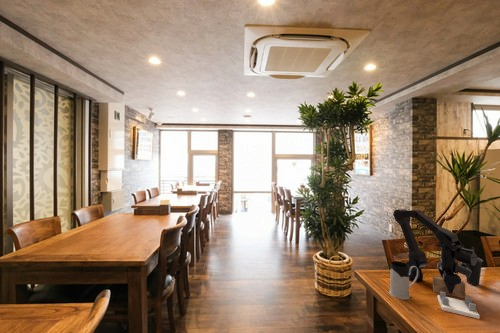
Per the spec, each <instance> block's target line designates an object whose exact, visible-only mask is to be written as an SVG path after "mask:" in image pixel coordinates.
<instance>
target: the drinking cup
mask: <svg viewBox="0 0 500 333" xmlns="http://www.w3.org/2000/svg"><path fill="white" fill-rule="evenodd" d="M471 250H474V251H475V247H474V246H471ZM483 262H484V260H483V259H481V258H480V257H478V256H477V263H476V265H474V266H473V265H469V264H466V263H464V264H466V267H468V268H469V269H470V270H471V271H472V273H471V275H470V277H466V276H465V278H466V279H465V280H466V283H467V284H468V285H471V286H476V287H477V286H480V279H481V273H482V272H481V271H482V266H483V265H482V264H483Z"/></svg>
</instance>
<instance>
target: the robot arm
mask: <svg viewBox="0 0 500 333" xmlns="http://www.w3.org/2000/svg"><path fill="white" fill-rule="evenodd" d="M392 216H393V218H394V220H395V221H396V223H398V225H399V226H400V228H401V231H402V234H403V236H404V240H405V242H406V243H405V244H406V245H407V249H408V261H406V262H405V263H406V264H408V265H409V270H410V268H411V267H412V266H416V267H417V268H418V271H419V272H418V278H417V280H416V283H423V280H424V272H423V271H422V270H423V269H424V268H425V267H426V266H427V265H428V258H427V254H426V252H422V251H421V250H420V248H419V244H418V242H417V240H416V238H415V235H414V231H413V229H412V225H411V218H414V219H415V220H416V221H417V222H419V223H420V224H421V225H422V226H424V227H425V228H426V229H428V230H429V231H430V232H432V233H433V235H434V237H435V238H436V239H437V240H438V241H439V243H437V244H435V246H436V247H438V248H440V257H439V260H440V261H438V262H437V263H436V268H437V270H438V273H439V274H440V277H442V278H443V280H444V282H445V284H446V287H447V289H448V292H449V293H451V294H452V293H453V290H454V287H455V285H457V284H461V281H462V278H461V277H460V275H459V274H461V275H463V276H465V278H466V277H470V275H471V273H472V271H471V270H470V269H469V268H468V267H466V264H469V265H473V266H474V265H476V263H477V257H478V256H477V254H476V253H475V249H474V250H472V249H470V248H469V249H468V248H465V246H464V245H463V244H462V242H461V241H460V239H459V238H458V237H459V236H458V235H457V234H456V233H455V232H453V231H452V230H449V229H447V228H445V227H443V226H440V225H439V224H438V223H436V222H435V221H434V220H432V219H431V218H430V217H429V216H427V215H426V214H424V213H423V212H422V211H421V210H420V209H412V210H409V209H408V210H407V209H405V208H402V209H395V210H394V211H393V213H392ZM458 262H460V263H458ZM465 263H466V264H465ZM416 267H413V268H412V269H411V274H410V275H409V281H412V282H413V281H414V280H415V278H416V275H417V268H416Z"/></svg>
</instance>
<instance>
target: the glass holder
mask: <svg viewBox="0 0 500 333" xmlns="http://www.w3.org/2000/svg"><path fill="white" fill-rule="evenodd" d="M413 267H416V266H412V267H411V268H410V270H409V265H408V264H406V262H404V261H403V262H402V261H397V260H392V261H391V262H390V272H389V273H390V274H389V275H390V277H389V278H390V281H389V282H390V287H389V288H390V289H389V291H388V292H389V295H391V296H392V297H393V298H396V299H399V300H407V301H408V300H409V299H411V295H410V288H411V287H412V286H413V285H414V284H415V283H417V281H416V280H417V278H418V272H419V271H418V268H417V267H416V268H417V275H416V278H415V280H414V281H412V282H411V283H410V280H409V275H410V274H411V269H412V268H413Z"/></svg>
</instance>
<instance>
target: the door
mask: <svg viewBox="0 0 500 333" xmlns="http://www.w3.org/2000/svg"><path fill="white" fill-rule="evenodd" d="M432 290H433V292H434V293H437V292H438V294H440V292H445V293H446V296H451V295H452V297H457V298H460V299H461V298H462V299H465V297H466V283H465V282H464V281H462V280H461V284H457V285H455V287H454V290H453V293H452V294H451V293H449V292H448V289H447V287H446V284H445V282H444V280H443V278H442V277H441V276H436V275H432Z"/></svg>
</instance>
